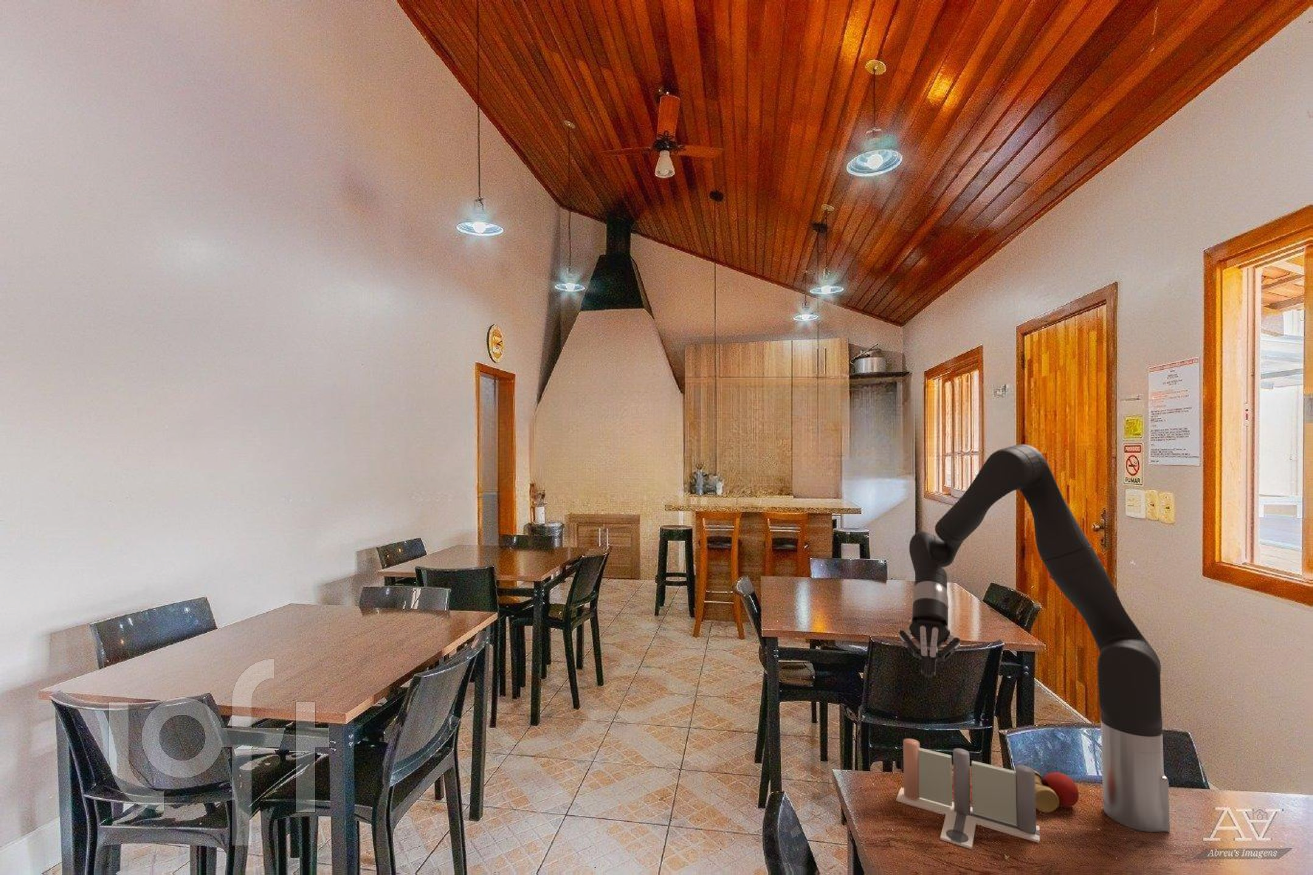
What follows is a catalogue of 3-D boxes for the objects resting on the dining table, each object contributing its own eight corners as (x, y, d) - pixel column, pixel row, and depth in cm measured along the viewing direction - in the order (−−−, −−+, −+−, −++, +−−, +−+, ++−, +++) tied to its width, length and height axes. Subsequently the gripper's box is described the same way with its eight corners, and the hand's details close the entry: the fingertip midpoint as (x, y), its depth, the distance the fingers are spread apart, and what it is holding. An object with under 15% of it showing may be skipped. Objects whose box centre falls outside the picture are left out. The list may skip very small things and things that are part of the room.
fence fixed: (1036, 827, 109) (1034, 765, 109) (1036, 836, 106) (1034, 772, 107) (955, 804, 116) (954, 746, 116) (953, 812, 113) (952, 753, 114)
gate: (952, 802, 116) (951, 748, 117) (950, 809, 114) (950, 754, 114) (905, 788, 121) (904, 737, 121) (902, 795, 118) (901, 742, 119)
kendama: (992, 819, 114) (1092, 813, 112) (984, 783, 116) (1082, 776, 114) (977, 804, 122) (1070, 798, 120) (969, 770, 123) (1061, 764, 121)
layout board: (1039, 828, 109) (1039, 825, 109) (1040, 870, 98) (1040, 867, 98) (901, 789, 122) (901, 786, 122) (887, 822, 111) (887, 820, 111)
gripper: (898, 593, 139) (893, 662, 128) (961, 600, 133) (962, 672, 122) (900, 611, 144) (896, 678, 132) (962, 618, 137) (962, 689, 126)
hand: (928, 675), depth 127 cm, fingers closed
